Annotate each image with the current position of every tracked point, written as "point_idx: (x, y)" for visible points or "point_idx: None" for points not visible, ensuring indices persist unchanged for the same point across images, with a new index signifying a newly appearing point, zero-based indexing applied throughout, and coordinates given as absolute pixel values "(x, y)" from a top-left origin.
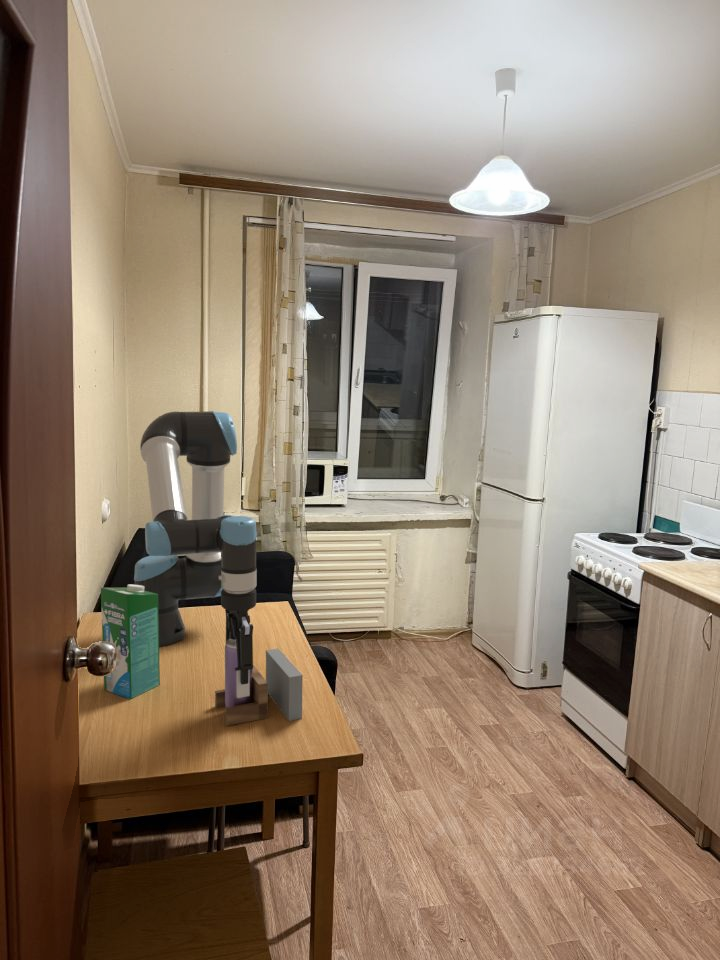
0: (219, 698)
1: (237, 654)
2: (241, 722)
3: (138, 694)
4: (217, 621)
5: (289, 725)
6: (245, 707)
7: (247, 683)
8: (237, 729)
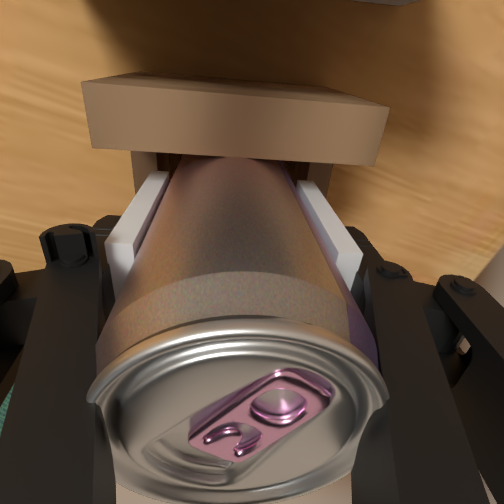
0: None
1: None
2: None
3: None
4: None
5: (428, 22)
6: (325, 194)
7: (353, 229)
8: (333, 209)
